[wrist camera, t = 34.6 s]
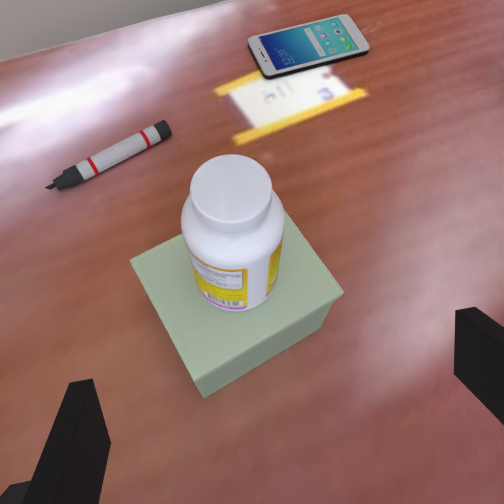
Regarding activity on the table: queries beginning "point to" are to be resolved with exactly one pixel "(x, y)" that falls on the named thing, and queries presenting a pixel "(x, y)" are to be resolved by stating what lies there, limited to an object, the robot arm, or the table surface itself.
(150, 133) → the marker
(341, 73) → the table surface
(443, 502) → the table surface
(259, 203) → the supplement bottle
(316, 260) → the lid
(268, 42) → the smartphone
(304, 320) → the chest
